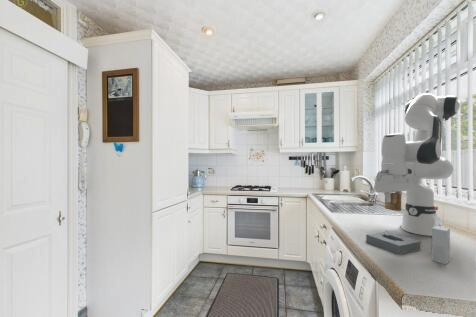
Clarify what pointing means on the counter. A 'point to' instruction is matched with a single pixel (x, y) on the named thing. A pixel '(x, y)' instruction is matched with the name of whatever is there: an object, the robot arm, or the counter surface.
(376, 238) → the slate socket block
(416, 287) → the counter surface
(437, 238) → the skincare box
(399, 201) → the brown wooden block
